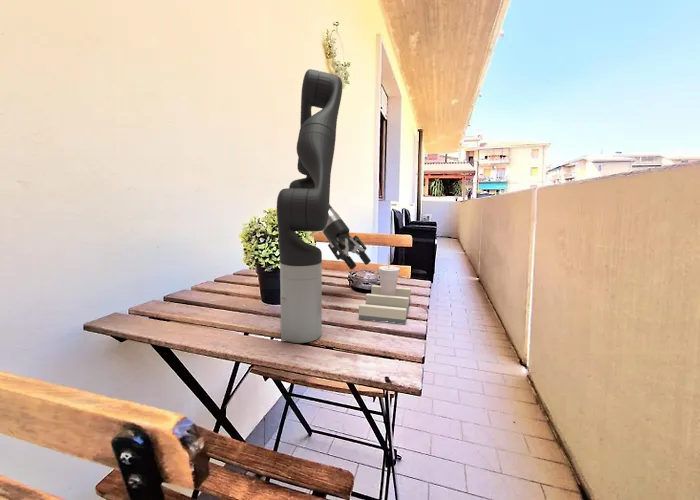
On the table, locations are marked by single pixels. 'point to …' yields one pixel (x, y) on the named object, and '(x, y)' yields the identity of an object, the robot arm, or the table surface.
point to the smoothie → (388, 278)
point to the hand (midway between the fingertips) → (361, 265)
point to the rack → (386, 305)
